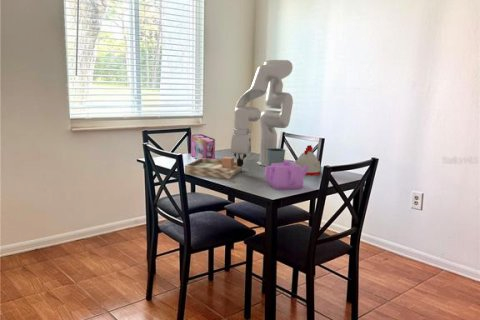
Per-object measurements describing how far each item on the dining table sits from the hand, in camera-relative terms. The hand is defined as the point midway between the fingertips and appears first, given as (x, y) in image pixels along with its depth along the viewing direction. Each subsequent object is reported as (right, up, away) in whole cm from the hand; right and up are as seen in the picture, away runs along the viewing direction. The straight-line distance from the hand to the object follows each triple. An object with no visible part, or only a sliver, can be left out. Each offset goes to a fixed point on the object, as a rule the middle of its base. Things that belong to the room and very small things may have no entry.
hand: (240, 166), depth 225 cm
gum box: (-23, +4, +36) cm, 43 cm away
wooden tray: (-14, -3, 0) cm, 14 cm away
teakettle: (+22, -9, -24) cm, 33 cm away
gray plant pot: (+19, -3, +8) cm, 21 cm away
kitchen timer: (+36, -4, +7) cm, 37 cm away
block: (-7, 0, +2) cm, 7 cm away
